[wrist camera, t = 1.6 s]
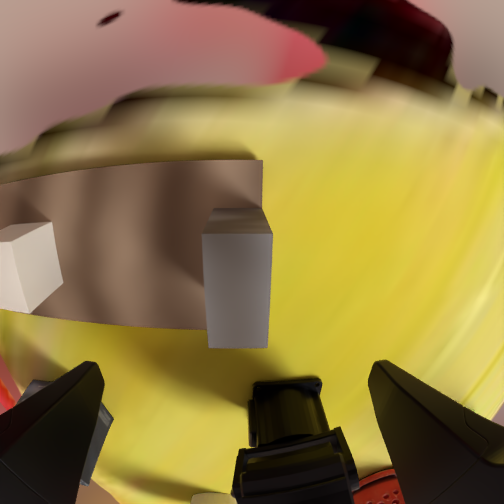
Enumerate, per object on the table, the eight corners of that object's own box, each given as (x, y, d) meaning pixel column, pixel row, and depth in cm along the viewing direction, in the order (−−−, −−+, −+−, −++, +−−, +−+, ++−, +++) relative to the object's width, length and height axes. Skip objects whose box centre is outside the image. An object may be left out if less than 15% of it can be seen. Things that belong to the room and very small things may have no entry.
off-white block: (51, 221, 17) (10, 241, 12) (63, 283, 19) (29, 313, 14) (11, 224, 17) (-28, 243, 12) (23, 280, 19) (-10, 306, 14)
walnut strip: (261, 160, 18) (275, 162, 11) (257, 322, 22) (264, 387, 15) (-8, 186, 17) (-61, 203, 10) (16, 306, 21) (-23, 343, 14)
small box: (89, 380, 24) (52, 454, 14) (116, 418, 26) (92, 488, 16) (30, 377, 24) (-7, 433, 14) (56, 412, 26) (28, 467, 17)
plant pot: (386, 459, 33) (407, 513, 22) (413, 466, 36) (431, 508, 25) (326, 491, 36) (337, 542, 25) (361, 495, 39) (373, 537, 28)
